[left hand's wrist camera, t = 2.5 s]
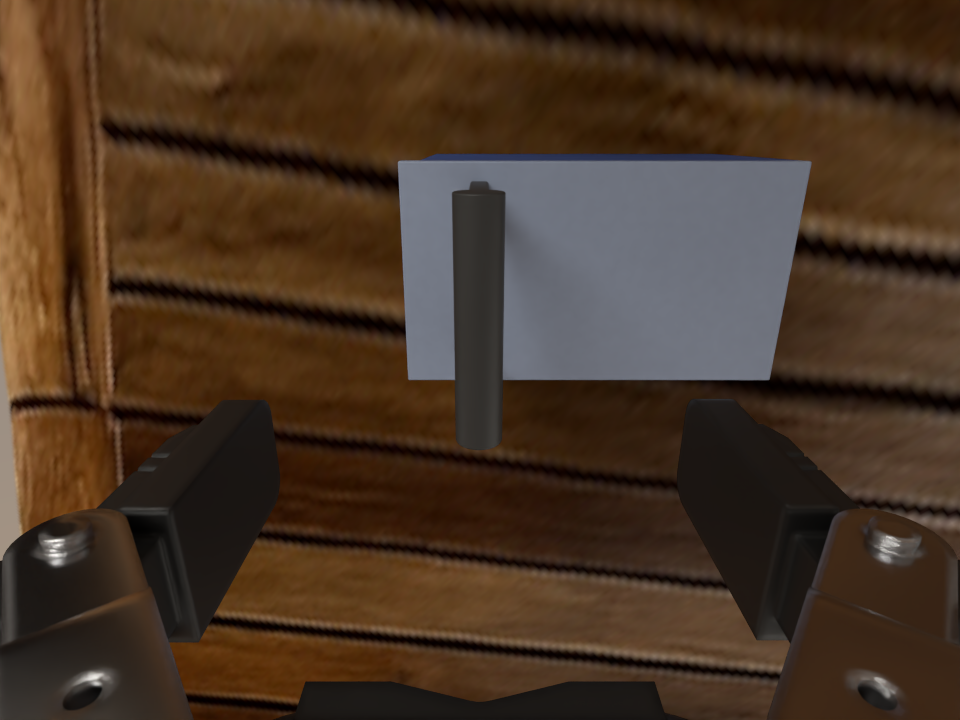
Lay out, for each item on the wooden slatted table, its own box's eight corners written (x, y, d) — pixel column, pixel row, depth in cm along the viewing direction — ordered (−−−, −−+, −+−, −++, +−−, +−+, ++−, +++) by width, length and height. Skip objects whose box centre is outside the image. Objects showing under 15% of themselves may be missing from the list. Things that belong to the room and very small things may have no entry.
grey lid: (410, 373, 26) (382, 466, 19) (400, 160, 23) (362, 171, 16) (761, 373, 26) (871, 466, 19) (801, 160, 23) (954, 171, 16)
